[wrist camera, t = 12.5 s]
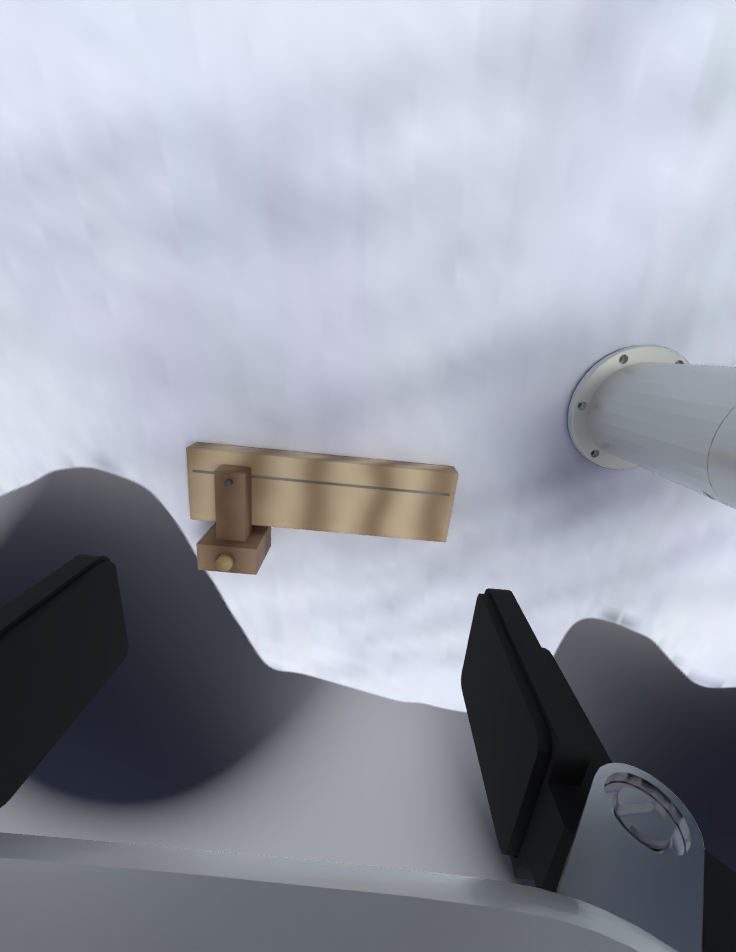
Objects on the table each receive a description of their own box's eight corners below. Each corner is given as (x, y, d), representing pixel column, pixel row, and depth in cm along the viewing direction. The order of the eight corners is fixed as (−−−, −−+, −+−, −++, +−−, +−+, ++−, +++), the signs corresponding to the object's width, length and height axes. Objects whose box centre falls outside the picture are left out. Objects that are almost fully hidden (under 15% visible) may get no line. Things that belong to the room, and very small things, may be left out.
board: (453, 466, 42) (458, 473, 39) (441, 531, 44) (445, 542, 42) (196, 442, 41) (186, 448, 38) (200, 509, 43) (190, 519, 41)
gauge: (271, 461, 41) (253, 483, 35) (270, 549, 45) (253, 584, 38) (217, 456, 41) (187, 477, 35) (220, 545, 45) (193, 579, 38)
